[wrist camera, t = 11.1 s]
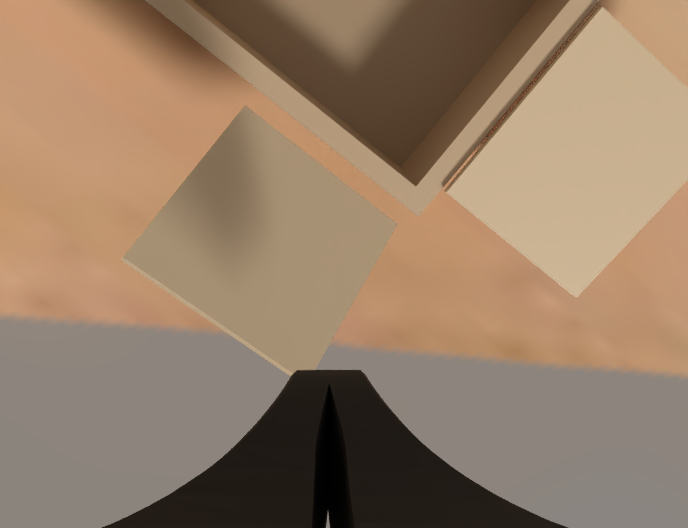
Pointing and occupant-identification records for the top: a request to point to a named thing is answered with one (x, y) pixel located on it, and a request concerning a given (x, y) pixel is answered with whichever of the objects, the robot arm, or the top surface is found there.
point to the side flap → (264, 244)
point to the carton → (474, 109)
